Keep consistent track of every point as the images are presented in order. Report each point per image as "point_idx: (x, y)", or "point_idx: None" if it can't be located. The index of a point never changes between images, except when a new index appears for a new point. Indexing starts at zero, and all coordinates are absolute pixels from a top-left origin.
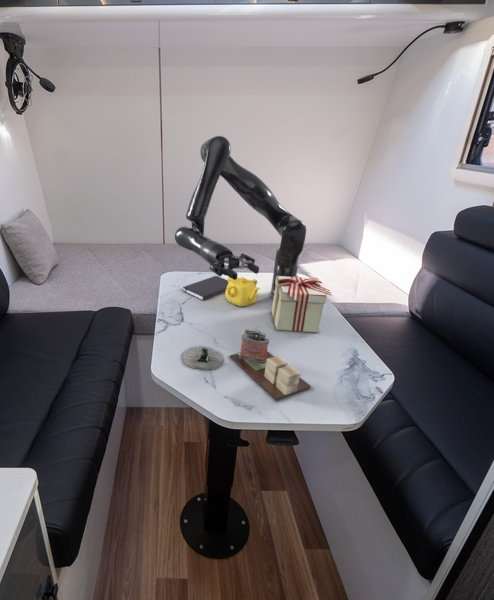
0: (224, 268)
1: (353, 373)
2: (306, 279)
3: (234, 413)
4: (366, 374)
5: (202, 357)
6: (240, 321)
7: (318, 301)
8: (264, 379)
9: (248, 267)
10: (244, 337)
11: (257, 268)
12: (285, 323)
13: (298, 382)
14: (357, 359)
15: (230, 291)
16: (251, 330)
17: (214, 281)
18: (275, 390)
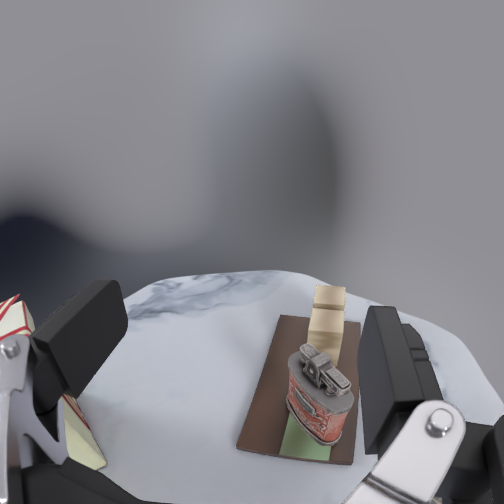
0: (457, 442)
1: (181, 303)
2: None
3: (437, 334)
4: (170, 294)
5: None
6: None
7: (32, 325)
8: (343, 360)
9: (59, 396)
10: (348, 396)
11: (116, 282)
12: (87, 435)
13: (290, 327)
14: (132, 313)
15: None
16: (333, 371)
17: None
18: (347, 333)
